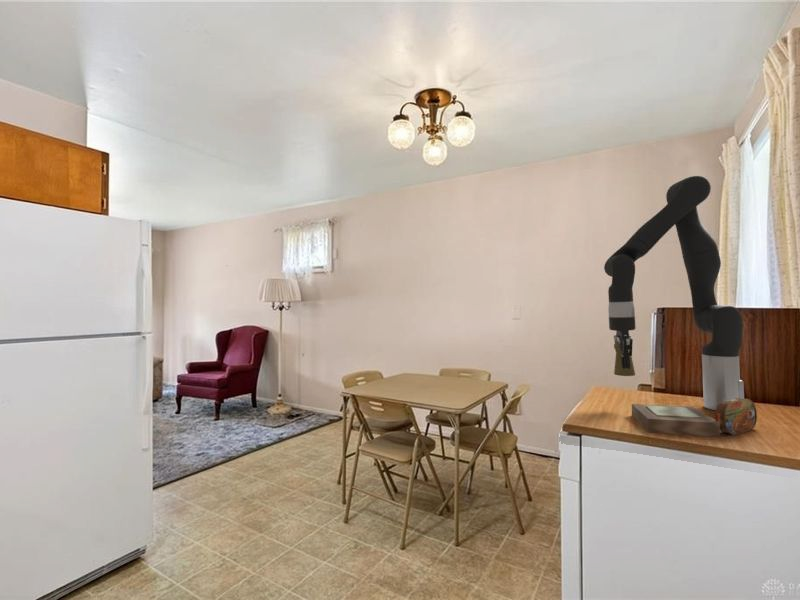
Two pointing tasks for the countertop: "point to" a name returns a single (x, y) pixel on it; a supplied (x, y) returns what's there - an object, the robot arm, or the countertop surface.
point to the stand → (675, 420)
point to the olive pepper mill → (618, 363)
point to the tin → (736, 415)
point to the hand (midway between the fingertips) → (624, 367)
